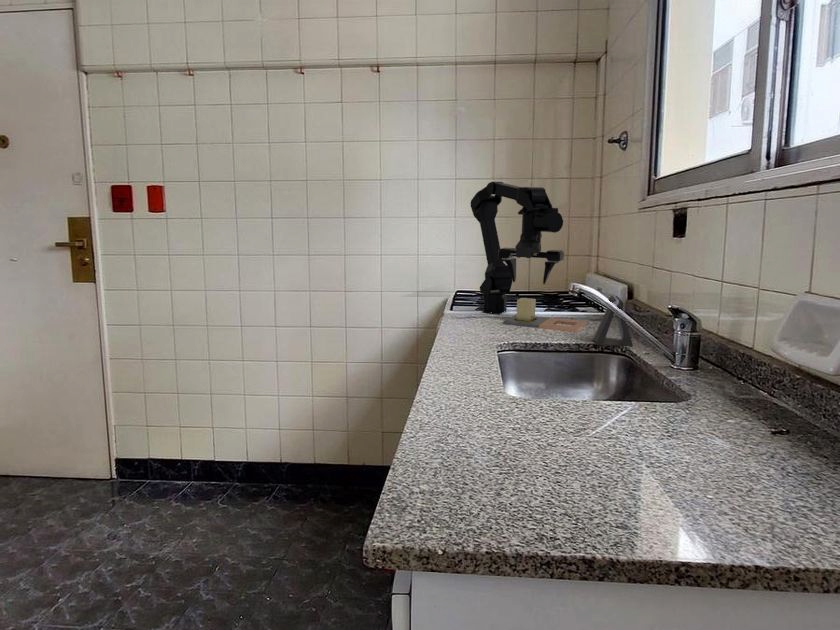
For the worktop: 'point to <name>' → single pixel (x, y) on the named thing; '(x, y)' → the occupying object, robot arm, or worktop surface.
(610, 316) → the phone stand
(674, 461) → the worktop surface
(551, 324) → the frame with rectangular openings
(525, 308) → the wooden block
